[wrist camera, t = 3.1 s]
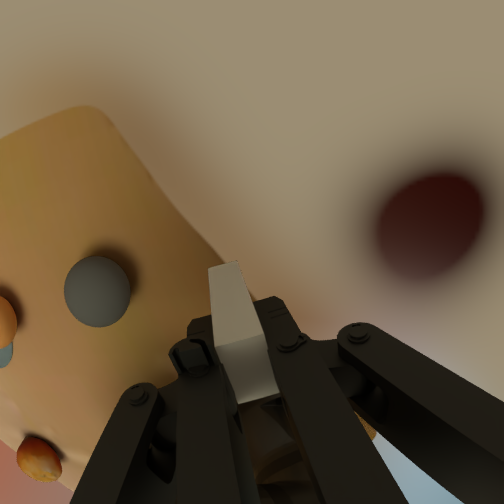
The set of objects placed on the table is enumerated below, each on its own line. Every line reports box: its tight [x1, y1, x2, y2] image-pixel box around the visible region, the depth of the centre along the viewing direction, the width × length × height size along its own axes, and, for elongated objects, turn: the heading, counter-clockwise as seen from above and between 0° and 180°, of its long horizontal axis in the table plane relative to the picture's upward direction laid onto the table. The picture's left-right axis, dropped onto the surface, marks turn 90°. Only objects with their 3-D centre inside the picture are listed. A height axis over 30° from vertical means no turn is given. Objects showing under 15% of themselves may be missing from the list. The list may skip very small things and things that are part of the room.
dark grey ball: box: [64, 256, 131, 327], centre depth 20 cm, size 6×6×6 cm
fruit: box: [17, 437, 62, 482], centre depth 24 cm, size 8×8×8 cm
